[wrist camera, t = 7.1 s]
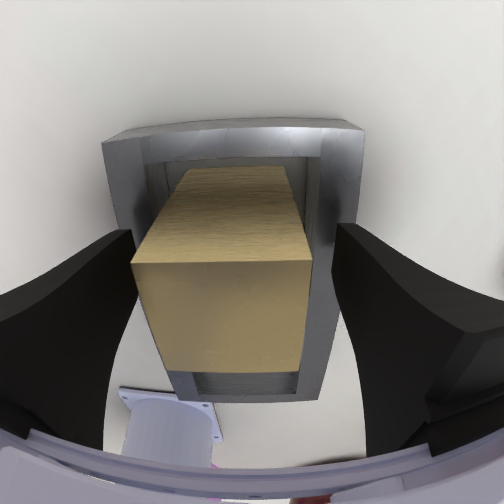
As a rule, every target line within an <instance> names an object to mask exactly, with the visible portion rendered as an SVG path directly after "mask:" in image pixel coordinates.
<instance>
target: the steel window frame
mask: <svg viewBox="0 0 504 504" xmlns="http://www.w3.org/2000/svg"><path fill="white" fill-rule="evenodd" d="M364 137H365V130H363V129H361V128H359V127H357V126H355V125H353V124H351V123H349V122H347V121H345V120H336V119H316V118H242V119H222V120H207V121H195V122H184V123H175V124H166V125H158V126H150V127H143V128H136V129H130V130H126V131H124V132H122V133H120V134H118V135H116V136H114V137H112V138H110V139H108V140H106V141H104V142H102V143H101V144H102V151H103V156H104V162H105V167H106V173H107V178H108V183H109V188H110V192H111V197H112V202H113V206H114V210H115V215H116V219H117V223H118V227H119V230H122V229H131V230H132V234H133V238H134V242H135V246H136V250H138V248H139V247H140V245H141V243H142V242H143V240H144V238H145V236H146V235H147V233H148V231H149V230H150V228H151V226H152V225H153V223H154V221H155V220H156V218H157V217H158V215H159V213H160V212H161V210H162V208H163V207H164V205H165V204H166V202H167V201H168V199H169V192H168V185H167V178H166V171H165V163H164V162H175V161H187V160H201V159H218V158H240V157H308V163H307V189H306V210H305V228H304V232H305V236H306V239H307V242H308V246H309V249H310V253H311V256H312V270H311V280H310V289H309V297H308V306H307V314H306V322H305V329H304V337H303V344H302V351H301V358H300V365H299V371H290V372H260V373H219V372H189V371H172V370H166V367H165V365H164V362H163V359H162V357H161V354H160V352H159V349H158V346H157V344H156V341H155V338H154V335H153V333H152V330H151V327H150V324H149V321H148V318H147V316H146V313H145V310H144V307H143V304H142V300H141V297H140V294H139V295H138V296H139V299H140V302H141V305H142V308H143V311H144V314H145V317H146V320H147V323H148V325H149V328H150V331H151V334H152V336H153V339H154V342H155V344H156V347H157V350H158V352H159V355H160V357H161V360H162V362H163V365H164V367H165V370H166V372H167V374H168V377H169V379H170V382H171V384H172V386H173V389H174V391H175V393H176V395H177V398H178V400H179V401H192V402H213V403H274V402H295V401H309V400H318V397H319V393H320V390H321V386H322V383H323V379H324V375H325V372H326V368H327V364H328V360H329V356H330V352H331V348H332V344H333V340H334V335H335V331H336V327H337V322H338V318H339V313H340V307H339V304H338V301H337V298H336V295H335V290H334V286H333V280H332V275H331V268H332V260H333V253H334V245H335V237H336V229H337V223H355V222H356V215H357V208H358V200H359V191H360V182H361V173H362V162H363V150H364Z"/></svg>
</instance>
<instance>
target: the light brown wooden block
mask: <svg viewBox="0 0 504 504" xmlns="http://www.w3.org/2000/svg"><path fill="white" fill-rule="evenodd" d="M130 264H131V268H132V271H133V275H134V278H135V281H136V285H137V288H138V291H139V294H140V297H141V300H142V304H143V307H144V310H145V313H146V316H147V318H148V321H149V324H150V327H151V330H152V333H153V335H154V338H155V341H156V344H157V346H158V349H159V352H160V354H161V357H162V359H163V362H164V365H165V367H166V370H172V371H189V372H219V373H260V372H290V371H299V365H300V358H301V351H302V344H303V337H304V329H305V322H306V314H307V306H308V297H309V289H310V280H311V270H312V256H311V253H310V249H309V246H308V242H307V239H306V236H305V232H304V229H303V226H302V222H301V219H300V216H299V213H298V209H297V206H296V203H295V200H294V197H293V194H292V190H291V187H290V184H289V181H288V178H287V175H286V172H285V169H284V166H241V167H216V168H198V169H188V170H187V172H186V173H185V175H184V176H183V178H182V179H181V181H180V182H179V184H178V185H177V187H176V188H175V190H174V191H173V193H172V194H171V196H170V197H169V199H168V201H167V202H166V204H165V205H164V207H163V208H162V210H161V212H160V213H159V215H158V217H157V218H156V220H155V221H154V223H153V225H152V226H151V228H150V230H149V231H148V233H147V235H146V236H145V238H144V240H143V242H142V243H141V245H140V247H139V248H138V250H137V252H136V254H135V255H134V257H133V259H132V261H131V262H130Z"/></svg>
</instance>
